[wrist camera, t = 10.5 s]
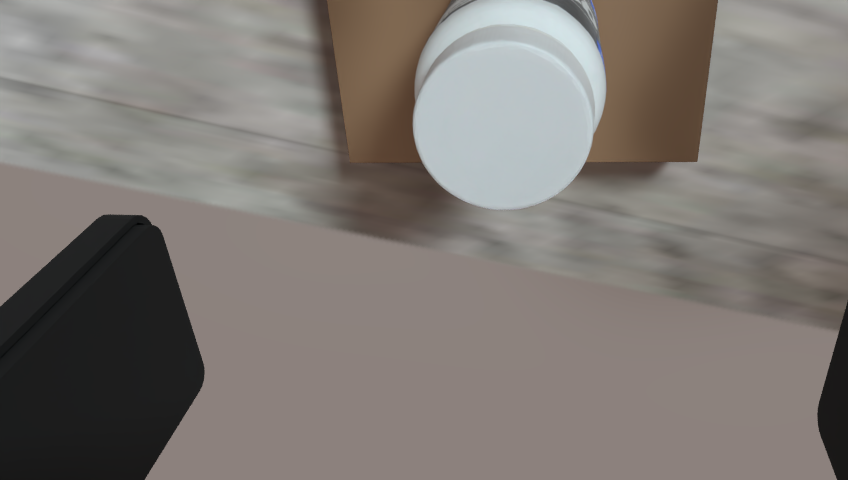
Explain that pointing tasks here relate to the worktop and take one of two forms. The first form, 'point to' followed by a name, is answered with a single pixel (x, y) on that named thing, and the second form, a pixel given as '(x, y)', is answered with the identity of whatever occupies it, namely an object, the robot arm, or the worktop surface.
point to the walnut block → (623, 59)
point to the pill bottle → (509, 99)
